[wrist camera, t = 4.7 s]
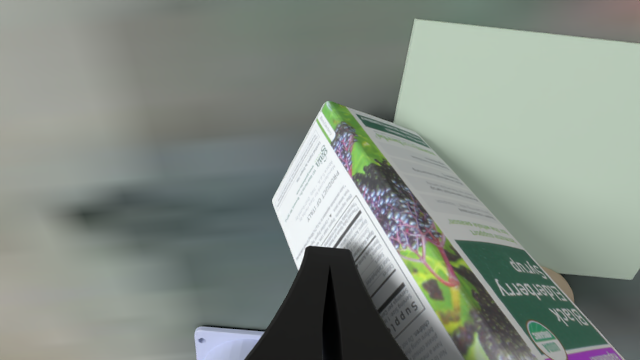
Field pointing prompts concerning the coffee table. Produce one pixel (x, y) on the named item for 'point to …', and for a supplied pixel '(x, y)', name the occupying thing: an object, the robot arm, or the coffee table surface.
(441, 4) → the coffee table surface
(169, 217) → the coffee table surface
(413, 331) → the syrup box
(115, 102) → the coffee table surface
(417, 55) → the mat
